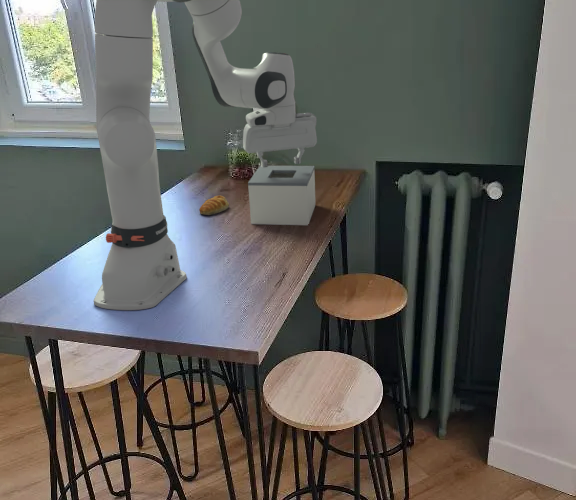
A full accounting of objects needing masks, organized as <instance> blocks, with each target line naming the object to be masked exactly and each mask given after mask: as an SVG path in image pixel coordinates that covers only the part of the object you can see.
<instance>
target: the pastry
mask: <svg viewBox="0 0 576 500" xmlns="http://www.w3.org/2000/svg"><path fill="white" fill-rule="evenodd" d="M229 207H230V203H229V202H228V200H227V198H226V197H225V196H223V195H215V196H213V197H211V198H208V199H207V200H205V202H203V203H202V205H201V206H200V207H199V214H200V215H205V216H206V215H207V216H212V215H216V214H219V213H221V212H224V211H226V210H228V208H229Z"/></svg>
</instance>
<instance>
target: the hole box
mask: <svg viewBox="0 0 576 500" xmlns="http://www.w3.org/2000/svg"><path fill="white" fill-rule="evenodd" d="M315 177H316V176H315V165H268V167H264V168H262V167H261V165H259V167H258V168H257V170H256V171H255V172H254V173H253V175H252V177H251V178H250V179H249V180H248V182H247V186H248V200H249V201H248V202H249V211H250V212H249V215H250V224H251V225H271V226H272V225H275V226H277V225H278V226H279V225H281V226H286V225H287V226H309V225H308V224H310V222H311V218H312V216H313V214H314V211H315V207H316V181H315V179H316V178H315Z"/></svg>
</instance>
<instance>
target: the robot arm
mask: <svg viewBox="0 0 576 500" xmlns="http://www.w3.org/2000/svg"><path fill="white" fill-rule="evenodd" d="M158 2H162V3H166V2H167V3H171V2H176V3H184V4H185V6H186V8H187V10H188V13H189V14H190V16H191V18H192V21H193V23H192V25H191V34H192V38H193V42H194V45H195V47H196V50H197V52H198V54H199V56H200V58H201V60H202V61H201V62H202V63H203V66H204V68H205V71H206V73H207V76H208V78H209V82H210V87H211V91H212V95H213V97H214V98H215V101H216V102H217V103H218V104H219V105H220V106H222V107H224V108H244V109H257V110H254V111H251V112H249V113H247V114H246V115H245V122H246V124H245V126H244V127H243V133H242V146H243V150H244V151H245V152H246V154H247V153H248V154H253V153H256V156H257V157H258V158H259V160H260V166H261V167H262V168H264V167H268V166H269V165H268V163H269V162H268V160H267V159H264V158H263V156H264V153H265V152H274V151H285V150H292V149H295V150H296V149H297V151H298V153H297V155H296V156H293V163H294V165H301V163H302V161H301V160H302V159H301V158H302V157H303V155H304V153H305V149H306V148H314V147H315V146H316V145H317V143H318V137H317V130H316V128H317V127H316V126H317V116H316V115H315V114H314V113H312V112H297V113H296V100H295V99H296V98H295V97H294V95H295V94H294V91H295V88H296V86H295V85H296V83H295V82H296V80H295V68H294V63H293V59H292V57H291V55H290V54H288V53H286V52H278V51H277V52H276V51H266V52H263V53H262V56H261V61H260V63H259V64H258V65H257V66H254V67H253V68H244V67H243V68H242V67H241V68H240V67H237V66H234V65H232V64H231V63H229V60H228V58H227V55H226V52H225V51H224V47H223V44H222V43H221V41H223V40H225V39H226V38H228V37H230V35H232V34H233V32H235V30H236V29H237V28H238V26H239V24H240V21H241V18H242V13H243V10H242V4H241V1H240V0H96V2H95V11H94V12H95V13H94V49H95V50H94V51H95V52H94V53H95V118H96V120H95V121H96V122H95V123H96V125H95V126H96V127H95V128H96V134H97V140H98V145H99V150H100V155H101V162H102V166H103V167H102V168H103V173H104V180H105V184H106V191H107V195H108V196H107V198H108V203H109V208H110V214H111V219H112V222H111V228H110V233H107V234H106V235H105V242H106V243H108V244H110V243H111V247H110V250H109V252H108V255H107V258H106V260H105V264H104V267H103V269H102V272H101V273H102V274H101V282H102V284H101V285H100V287H99V289H98V291H97V293H96V295H95V296H94V298H93V305H94V306H97V307H98V308H102V309H106V310H107V309H108V310H115V311H138V310H145V309H151V308H154V307H155V306H157V305H158V304H159V303H161V301H162V300H164V299H165V298H166V297H168V295H169V294H171V293H172V292H173V291H174V290H175V289H176V288H177V287H178V286H180V285H181V284H182V283H183V282H184V281H185V280H186V279H187V278H188V276H187V275H188V274H187V273H186V272H185V271H184V270H182V269H181V265H180V262H179V256H178V252H177V248H176V244H175V243H174V241H172V240H171V238H170V237H169V235H168V233H169V230H168V221H167V217H166V216H165V215H164V210H163V201H162V195H161V187H160V177H159V176H160V174H159V173H160V172H159V160H158V149H157V148H158V147H157V139H156V138H157V137H156V133H155V130H154V128H153V126H152V124H151V121H150V120H151V119H150V113H151V112H150V111H151V109H150V108H151V93H152V84H153V75H154V73H153V72H154V71H153V67H154V63H153V62H154V59H153V58H154V57H153V56H154V53H153V52H154V51H153V50H154V45H153V44H154V38H153V37H154V33H153V31H154V29H153V28H154V27H153V12H154V9H155V6H156V4H157V3H158Z"/></svg>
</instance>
